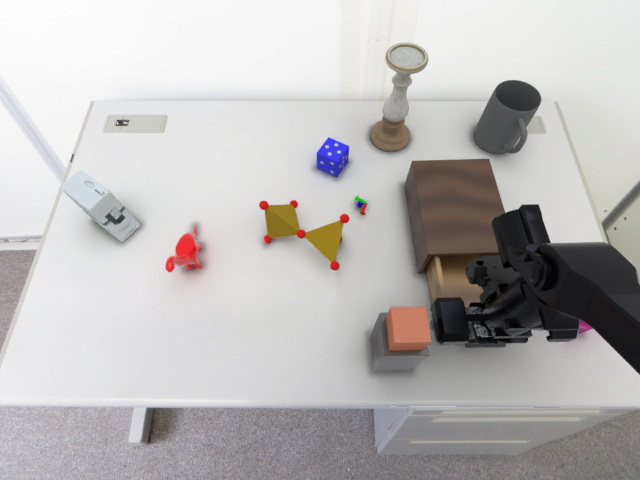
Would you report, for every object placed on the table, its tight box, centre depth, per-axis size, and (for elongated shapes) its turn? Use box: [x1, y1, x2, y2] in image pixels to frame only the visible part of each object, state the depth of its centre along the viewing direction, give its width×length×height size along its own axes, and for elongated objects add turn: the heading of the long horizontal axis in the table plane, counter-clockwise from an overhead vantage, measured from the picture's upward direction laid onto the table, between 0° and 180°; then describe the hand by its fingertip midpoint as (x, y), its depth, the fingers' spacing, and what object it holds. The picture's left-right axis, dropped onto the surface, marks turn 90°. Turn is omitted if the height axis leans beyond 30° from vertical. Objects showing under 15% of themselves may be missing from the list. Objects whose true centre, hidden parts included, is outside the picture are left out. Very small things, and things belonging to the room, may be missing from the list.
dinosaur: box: [164, 224, 203, 273], centre depth 65 cm, size 4×15×12 cm, turn 8°
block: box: [386, 305, 433, 351], centre depth 49 cm, size 5×5×5 cm
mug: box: [473, 79, 542, 155], centre depth 77 cm, size 14×9×12 cm
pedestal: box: [370, 311, 430, 372], centre depth 57 cm, size 6×6×12 cm
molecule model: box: [258, 194, 368, 272], centre depth 69 cm, size 16×18×12 cm
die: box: [316, 137, 350, 178], centre depth 79 cm, size 5×5×5 cm
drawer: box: [426, 254, 507, 349], centre depth 64 cm, size 23×13×6 cm, turn 1°
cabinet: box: [403, 158, 506, 274], centre depth 70 cm, size 20×15×8 cm
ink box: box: [58, 169, 141, 243], centre depth 69 cm, size 9×5×12 cm, turn 54°
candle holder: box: [370, 42, 429, 152], centre depth 75 cm, size 9×9×20 cm
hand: (480, 334), depth 60 cm, fingers closed
